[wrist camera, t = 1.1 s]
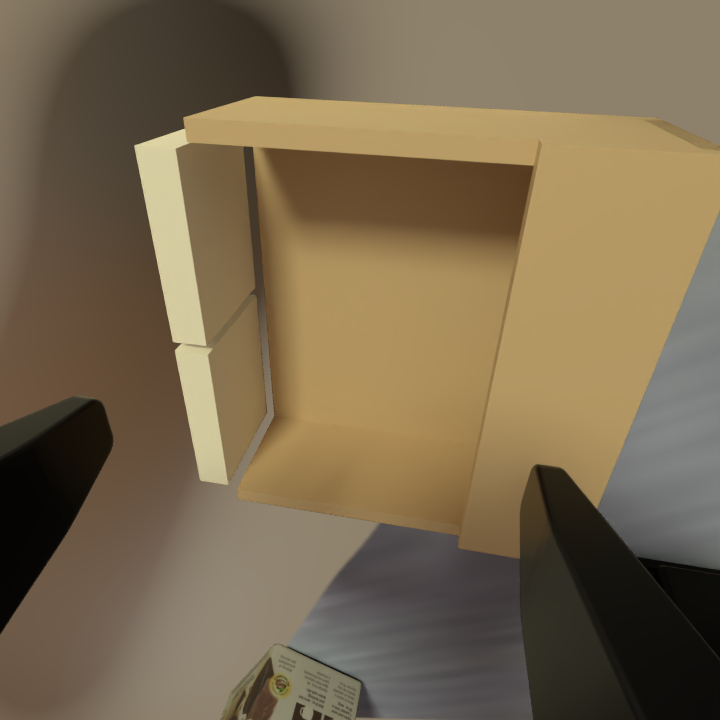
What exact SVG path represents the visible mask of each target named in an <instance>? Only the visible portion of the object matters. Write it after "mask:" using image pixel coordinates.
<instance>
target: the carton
mask: <svg viewBox="0 0 720 720" xmlns="http://www.w3.org/2000/svg"><path fill="white" fill-rule="evenodd" d="M184 125H185V132H186V139H187V142H190V143H205V144H220V145H234V146H249V147H253V153H254V166H255V179H256V191H257V204H258V216H259V229H260V240H261V254H262V267H263V279H264V291H265V305H266V317H267V330H268V342H269V355H270V368H271V380H272V392H273V405H274V418H273V420H272V422H271V424H270V426H269V428H268V430H267V432H266V434H265V436H264V438H263V440H262V441H261V444H260V445H259V447H258V449H257V451H256V453H255V455H254V457H253V459H252V461H251V463H250V465H249V467H248V469H247V471H246V473H245V475H244V477H243V479H242V481H241V483H240V485H239V487H238V489H237V491H238V499H239V500H245V501H251V502H257V503H264V504H270V505H276V506H281V507H288V508H294V509H300V510H306V511H312V512H318V513H324V514H330V515H336V516H342V517H348V518H354V519H360V520H367V521H373V522H379V523H385V524H391V525H397V526H403V527H409V528H415V529H421V530H427V531H434V532H440V533H446V534H452V535H458V548H459V549H465V550H470V551H476V552H482V553H488V554H494V555H500V556H506V557H512V558H518V559H520V506H521V501H522V498H523V494H524V491H525V488H526V484H527V481H528V477H529V474H530V471H531V469H532V467H533V466H534V465H536V464H543V465H550V466H556V467H560V468H562V469H564V470H565V471H566V472H567V473H568V474H569V476H570V477H571V478H572V479H573V481H574V482H575V483H576V484H577V485H578V487H579V488H580V489H581V490H582V491H583V493H584V494H585V495H586V496H587V498H588V499H589V500H590V501H591V502H592V504H593V505H594V506H595V507H596V509H597V508H598V505H599V503H600V500H601V498H602V495H603V493H604V491H605V488H606V486H607V483H608V481H609V478H610V476H611V473H612V471H613V469H614V466H615V464H616V461H617V459H618V456H619V454H620V452H621V449H622V447H623V444H624V442H625V439H626V437H627V435H628V432H629V430H630V427H631V425H632V422H633V420H634V418H635V415H636V413H637V410H638V408H639V405H640V403H641V401H642V398H643V396H644V393H645V391H646V388H647V386H648V384H649V381H650V379H651V376H652V374H653V371H654V369H655V366H656V364H657V362H658V359H659V357H660V354H661V352H662V349H663V347H664V345H665V342H666V340H667V337H668V335H669V332H670V330H671V328H672V325H673V323H674V320H675V318H676V315H677V313H678V311H679V308H680V306H681V303H682V301H683V298H684V296H685V294H686V291H687V289H688V286H689V284H690V281H691V279H692V276H693V274H694V272H695V269H696V267H697V264H698V262H699V259H700V257H701V255H702V252H703V250H704V247H705V245H706V242H707V240H708V238H709V235H710V233H711V230H712V228H713V225H714V223H715V221H716V218H717V216H718V213H719V211H720V146H718V145H716V144H714V143H712V142H710V141H707V140H705V139H703V138H701V137H698V136H696V135H694V134H692V133H690V132H687V131H685V130H683V129H681V128H678V127H676V126H674V125H672V124H670V123H668V122H665V121H663V120H661V119H659V118H648V117H630V116H611V115H593V114H574V113H556V112H537V111H518V110H499V109H481V108H463V107H445V106H443V107H442V106H426V105H406V104H389V103H369V102H351V101H333V100H314V99H296V98H277V97H258V96H255V97H252V98H248V99H245V100H241V101H238V102H234V103H231V104H228V105H225V106H221V107H218V108H214V109H211V110H208V111H204V112H201V113H197V114H194V115H191V116H187V117H184Z"/></svg>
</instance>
